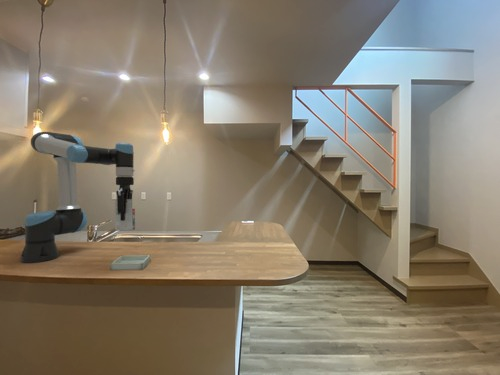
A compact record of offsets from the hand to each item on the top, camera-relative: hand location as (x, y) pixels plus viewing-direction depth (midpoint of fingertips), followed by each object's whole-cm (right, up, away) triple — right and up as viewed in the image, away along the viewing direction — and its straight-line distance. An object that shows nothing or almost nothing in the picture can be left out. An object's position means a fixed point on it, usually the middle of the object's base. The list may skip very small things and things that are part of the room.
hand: (125, 226), depth 124 cm
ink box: (0, -2, 0) cm, 2 cm away
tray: (+2, -18, +1) cm, 19 cm away
